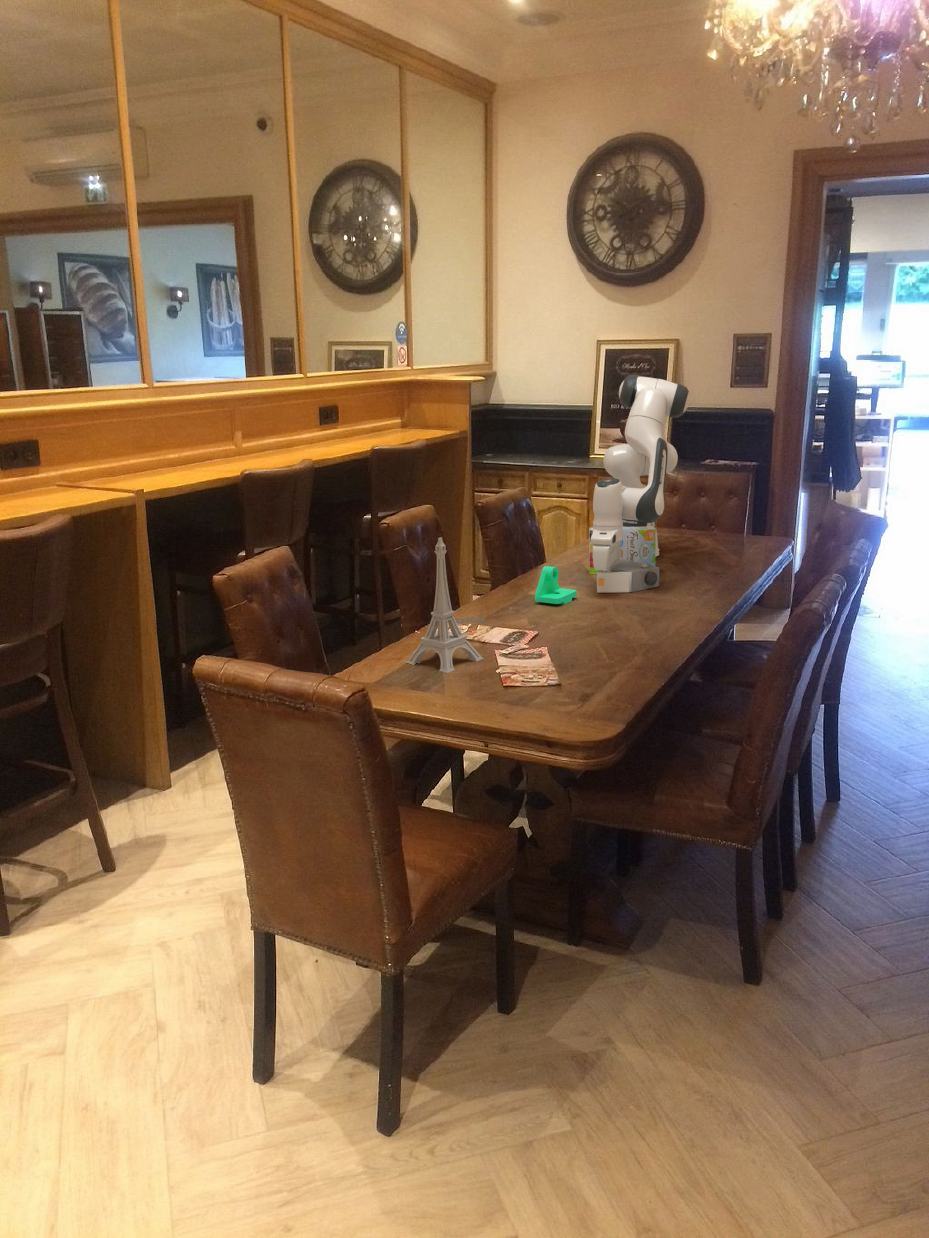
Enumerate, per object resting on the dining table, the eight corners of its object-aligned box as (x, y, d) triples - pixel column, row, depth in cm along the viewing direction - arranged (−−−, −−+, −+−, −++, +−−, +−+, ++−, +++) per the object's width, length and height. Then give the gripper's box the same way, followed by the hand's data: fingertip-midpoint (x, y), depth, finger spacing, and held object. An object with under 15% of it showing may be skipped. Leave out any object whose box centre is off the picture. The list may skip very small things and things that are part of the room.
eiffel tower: (441, 650, 246) (437, 531, 238) (483, 659, 238) (480, 536, 230) (405, 663, 236) (399, 540, 228) (447, 673, 228) (443, 545, 220)
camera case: (597, 582, 311) (597, 561, 309) (623, 577, 316) (624, 556, 315) (635, 592, 297) (635, 570, 295) (662, 587, 302) (662, 565, 300)
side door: (597, 593, 297) (597, 573, 295) (596, 591, 299) (597, 572, 297) (631, 592, 296) (632, 573, 294) (631, 591, 298) (631, 571, 296)
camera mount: (558, 607, 283) (558, 572, 280) (535, 604, 287) (534, 570, 284) (577, 598, 292) (577, 564, 290) (555, 596, 296) (555, 562, 294)
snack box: (653, 571, 325) (654, 525, 321) (655, 575, 319) (656, 528, 315) (588, 571, 327) (589, 526, 323) (589, 575, 321) (589, 529, 317)
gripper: (605, 527, 306) (605, 571, 309) (589, 539, 287) (589, 585, 291) (625, 528, 303) (625, 572, 307) (610, 540, 285) (610, 587, 289)
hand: (607, 579), depth 299 cm, fingers closed
